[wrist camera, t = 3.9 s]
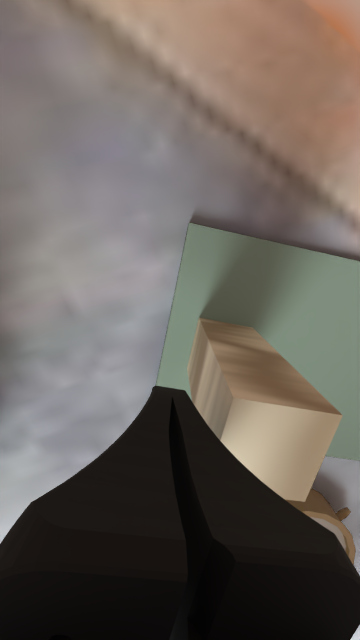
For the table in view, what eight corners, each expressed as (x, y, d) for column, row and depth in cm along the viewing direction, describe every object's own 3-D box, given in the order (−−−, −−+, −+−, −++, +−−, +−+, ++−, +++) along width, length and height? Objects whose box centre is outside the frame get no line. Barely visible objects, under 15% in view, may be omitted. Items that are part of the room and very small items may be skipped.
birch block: (186, 367, 19) (205, 489, 10) (198, 317, 18) (233, 397, 9) (237, 376, 20) (304, 501, 10) (252, 327, 19) (342, 415, 9)
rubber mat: (147, 425, 21) (146, 430, 21) (188, 223, 17) (189, 222, 16) (367, 457, 23) (372, 462, 23) (453, 283, 19) (461, 284, 18)
